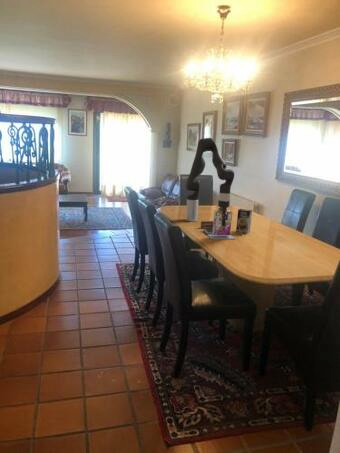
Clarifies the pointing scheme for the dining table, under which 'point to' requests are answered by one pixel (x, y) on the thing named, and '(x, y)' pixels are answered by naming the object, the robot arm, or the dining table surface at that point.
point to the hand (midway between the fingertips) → (222, 224)
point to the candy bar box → (217, 223)
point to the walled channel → (207, 225)
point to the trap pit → (208, 232)
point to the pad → (221, 237)
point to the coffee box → (244, 220)
